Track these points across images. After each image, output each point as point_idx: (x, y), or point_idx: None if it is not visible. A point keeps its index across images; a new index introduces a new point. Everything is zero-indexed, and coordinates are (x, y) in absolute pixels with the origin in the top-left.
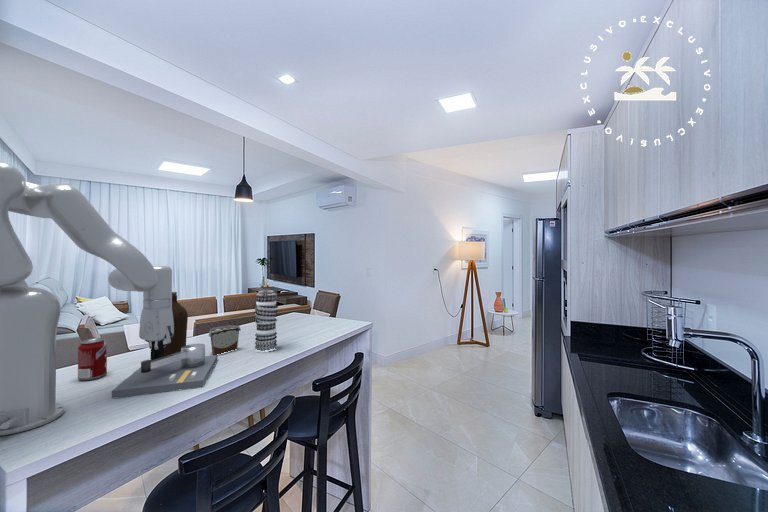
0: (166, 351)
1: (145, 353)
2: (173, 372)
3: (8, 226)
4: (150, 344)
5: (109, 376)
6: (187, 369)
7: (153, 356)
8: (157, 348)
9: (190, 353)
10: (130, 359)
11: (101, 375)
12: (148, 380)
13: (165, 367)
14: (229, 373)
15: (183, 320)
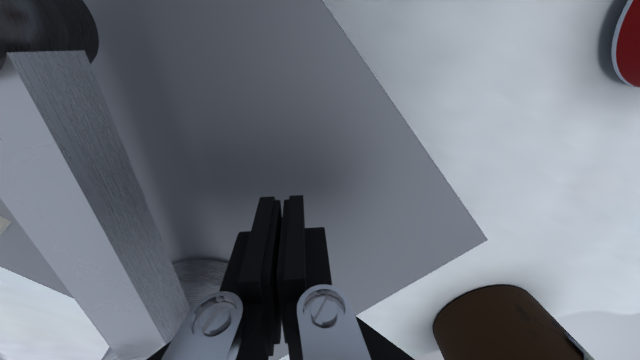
0: (487, 328)
1: (616, 296)
2: (166, 204)
3: None
4: (334, 349)
5: (568, 68)
6: None
7: (259, 224)
8: (191, 316)
9: (105, 357)
10: (634, 243)
11: (618, 27)
12: (131, 53)
13: None
14: (40, 305)
15: None
